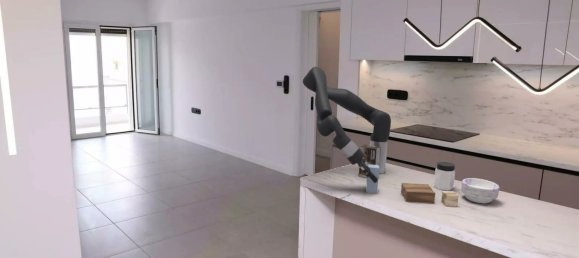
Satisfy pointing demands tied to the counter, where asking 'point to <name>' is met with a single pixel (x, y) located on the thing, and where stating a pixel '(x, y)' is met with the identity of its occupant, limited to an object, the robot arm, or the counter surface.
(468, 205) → the counter surface
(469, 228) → the counter surface
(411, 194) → the walnut block
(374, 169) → the light blue block
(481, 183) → the paper bowls
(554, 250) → the counter surface
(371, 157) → the coffee box
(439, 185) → the jar
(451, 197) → the maple cube
